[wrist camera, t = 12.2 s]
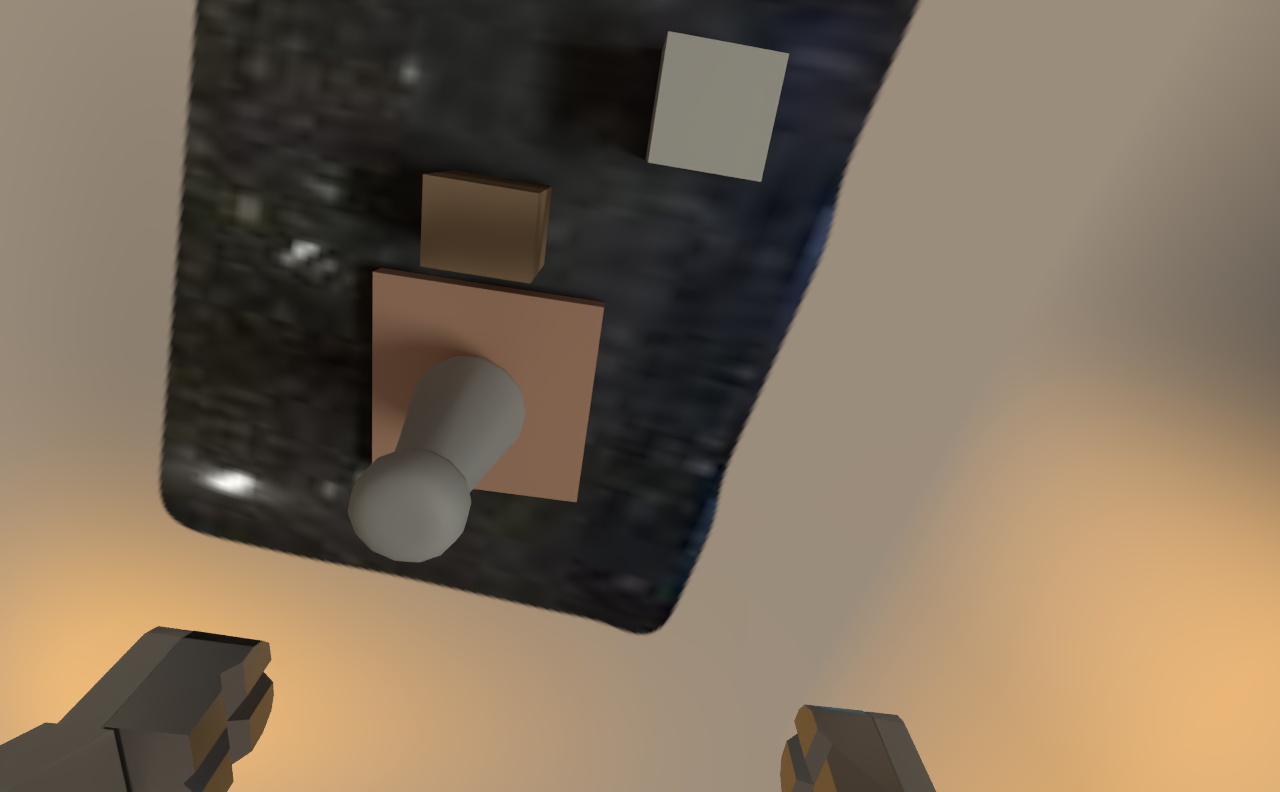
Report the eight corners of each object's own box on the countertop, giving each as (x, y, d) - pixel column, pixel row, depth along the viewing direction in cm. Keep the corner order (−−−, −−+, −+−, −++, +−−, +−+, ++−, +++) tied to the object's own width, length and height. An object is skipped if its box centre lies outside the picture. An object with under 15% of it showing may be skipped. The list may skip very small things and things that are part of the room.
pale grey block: (662, 49, 30) (668, 31, 25) (764, 68, 30) (788, 53, 25) (645, 160, 32) (648, 162, 27) (741, 176, 32) (760, 181, 27)
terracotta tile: (381, 267, 33) (372, 271, 32) (604, 302, 34) (604, 307, 33) (379, 465, 38) (372, 475, 36) (578, 492, 38) (576, 502, 37)
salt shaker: (409, 409, 35) (292, 547, 23) (452, 323, 33) (351, 424, 21) (503, 456, 36) (439, 612, 24) (550, 376, 34) (506, 501, 22)
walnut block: (453, 170, 32) (423, 174, 27) (551, 186, 32) (538, 193, 27) (449, 249, 33) (420, 266, 28) (544, 264, 33) (530, 283, 29)
